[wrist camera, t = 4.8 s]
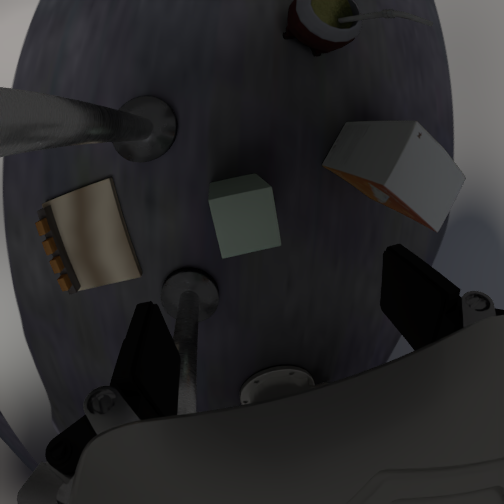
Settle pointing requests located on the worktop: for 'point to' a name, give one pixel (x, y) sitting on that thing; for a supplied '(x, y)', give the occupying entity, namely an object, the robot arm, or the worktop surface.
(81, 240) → the breaker board
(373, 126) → the small box
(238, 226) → the green block
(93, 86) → the worktop surface
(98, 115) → the near post
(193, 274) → the far post
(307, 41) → the mate gourd
